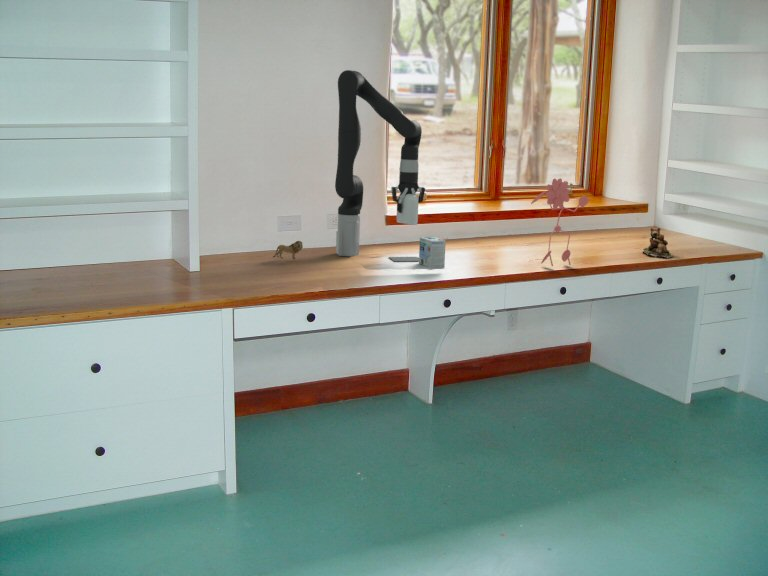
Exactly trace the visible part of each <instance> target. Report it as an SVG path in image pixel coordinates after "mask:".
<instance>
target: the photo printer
mask: <svg viewBox="0 0 768 576" xmlns="http://www.w3.org/2000/svg"><path fill="white" fill-rule="evenodd" d="M401 195H402V194H401ZM416 196H417V195H416ZM416 196H415V195H413V194H407V195H405V197H404V198H403V200H402V202H401V204H402V207H401V213H399V212H398V211H397V210H396V223H399V224H404V225H410V226H417V225H418V221H419V203H418V199H419V197H418V196H417V197H416ZM398 198H399V195H398V196H397V199H398Z"/></svg>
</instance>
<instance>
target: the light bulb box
mask: <svg viewBox="0 0 768 576" xmlns="http://www.w3.org/2000/svg"><path fill="white" fill-rule="evenodd" d="M446 241H447V240H445V239H442V238H440V237H436V236H422V237H421V236H420V237H419V248H418V249H419V251H418V254H419V255H418V258H419V262H418V264H419V265H422V266H425V267H428V268H429V269H430V268H432V269H435V268H445V266H446V265H445V264H446V263H445V261H446V260H445V259H446V245H447V244H446V243H447V242H446Z"/></svg>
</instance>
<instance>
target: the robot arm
mask: <svg viewBox="0 0 768 576" xmlns="http://www.w3.org/2000/svg"><path fill="white" fill-rule="evenodd" d="M337 90H338V93H337V94H338V107H339V109H338V132H337V133H338V135H337V139H338V140H337V142H338V143H337V144H338V145H337V164H336V165H337V167H336V175H335V182H334V183H335V185H334V189H335V192H336V195H337V196H338V197H339V198H341V199H342V203H341V204H340V206H338V208H337V231H336V232H335V233H336V234H335V236H336V237H335V244H336V245H335V254H336V255H337V256H339V257H356V256H360V234H361V231H360V229H361V228H360V227H361V210H362V207H363V200H364V183H363V180H362V178H361V177H360V176H359V175H355V174H354V165H355V160H356V158H357V154H358V152H359V150H360V146H361V142H362V141H361V140H362V137H361V136H362V127H361V125H362V124H361V121H360V118H359V113H358V110H357V97H359V98H361V99H362V100H364V101H365V102H366V103H368V104H369V106H370V107H371V108H372V109H373V110H374V111H375V113H377V115H378V116H379V117H380V118H382V119H383V120H384V121H386V123H388V124H389V125H391V126H392V127H393V128H394V131H396V132H397V133H398V134H399V135H401V136H402V137H403V138H404V144H402V146H401V149H400V163H399V177H398V179H399V180H398V181H399V182H398V185H397V186H391V188H390V190H391V196H392V201H393V202H394V203H396V212H397V211H398V212H399V213H401V207H402V204H401V202H402V200H403V198H404V197H405V195H407V194H413V195H415V196H416V197H417V198H418V204H419V203H423V200H424V197H425V192H426V188H425V187H424V186H419V183H418V182H419V150H420V149H419V147H420V143H421V140H422V130H423V129H422V125H421V123H420V122H419V121H417V120H413V119H410V118H408V117H407V116H406V115H404V112H403V110H401V108H399V107H398V106H397V105H395V104H394V102H393V103H392V102H391V101H390V100H388V98H386V97H385V96H383V94H382V93H380V92H379V90H377V89H376V88H375V86H373V85H372V84H371V83H370V82H369V81H368V80H367V79H366V77H365V76H364V75H363V74H362V73H361V72H359V71H357V70H351V69H350V70H349V69H347V70H344V71H342V72H341V73H340V74H339V77H338V79H337ZM398 190H399V192H400V193H399V194H398V196H399V198H398V196H397V192H398ZM417 192H419V195H418V196H417V194H416V193H417ZM401 194H402V195H401ZM397 198H398V199H397Z"/></svg>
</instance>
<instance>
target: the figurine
mask: <svg viewBox="0 0 768 576" xmlns="http://www.w3.org/2000/svg"><path fill="white" fill-rule="evenodd" d="M562 179H563V178H560V177H559V178H558V179H557V178H553V179H552V181H551V184H547V185H546V188H547V190H544V191H542V192H541V193H540V194H538V195H537V196H536V197H535V198H534V199H533V200H532V201H531V202H530V204H531V205H532V204H534V203H536V202H537V201H539V200H540V199H541V198H543V196H544V195H545V196H546V199H547V200H546V203H547V205H549V207H550V209H551V211H554V210H560V209H561V210H560V212H559V214H558V217H557V222H556V225H555V226H554V228H553V231H552V232H551V234H550V236H549V240H548V241H549V243H548V252H547V253H546V254H545V256H544V257H543V258H540V259H539V258H536V260H537V261H539V260H542V261H540V262H541V263H540V264H542V265H543V263H544V262H545V261H546V260H548V259H549V260H550V264H551V267H554V264H553V260H552V255H551V253H552V250H550V249H551V239H552V238H551V237H552V236H553V234H554V232H557V233H559V232H560V231H561V232H563V233H564V234H566V235H568V240H567V245H566V249H565V250H564V251H563V253H562V254H561V260H562V261H563V262H565V263H566V261H568V265H569V266H570V265H571V261H570V256H571V250H570V249H568V248H569V243H570V237H571V234H570V233H568V232H566V231H565V230H562V227H561V226H560V225H559V222H560V217H561V213H562V211H563V210H564V209H565V210H567V211H570V212H573V213H575V212H576V211H577V210H578V208H579V207H581V208H585V206H586V205H587V204H588V203H589V198H588V196H586V195H585V194H584V195H582V196H581V197H580V198H579V199H578V204H577V206H576V208H575V209H574V210H573V209H570V208H568V207H565V206H564V202H565V203H568V202H569V201H570V197H569V194H570V190H569V188H568V185H569V182H568V181H567V180H564V181H563V180H562ZM532 261H533V259H532V260H529V261H528V262H532ZM580 264H581V265H583V263H582V262H580Z"/></svg>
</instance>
